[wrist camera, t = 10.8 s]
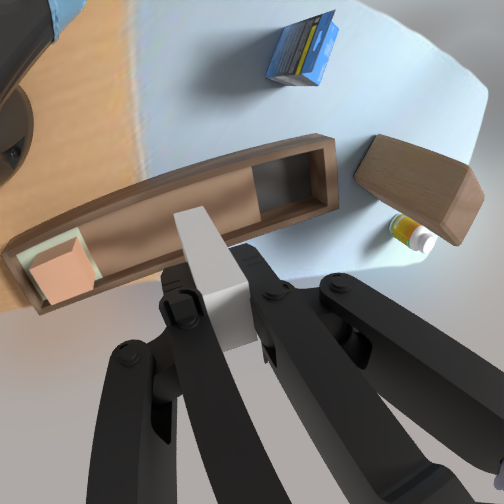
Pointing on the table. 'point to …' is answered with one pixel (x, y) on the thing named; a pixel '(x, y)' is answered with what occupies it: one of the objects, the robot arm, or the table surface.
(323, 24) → the blue retail box
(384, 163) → the block
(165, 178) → the channel
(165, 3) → the table surface
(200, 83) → the table surface
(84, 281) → the clay block
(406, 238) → the supplement bottle
